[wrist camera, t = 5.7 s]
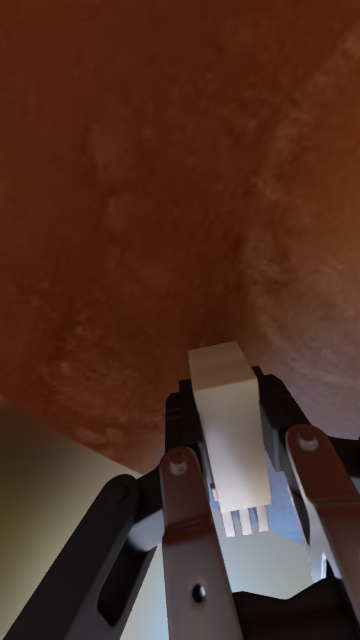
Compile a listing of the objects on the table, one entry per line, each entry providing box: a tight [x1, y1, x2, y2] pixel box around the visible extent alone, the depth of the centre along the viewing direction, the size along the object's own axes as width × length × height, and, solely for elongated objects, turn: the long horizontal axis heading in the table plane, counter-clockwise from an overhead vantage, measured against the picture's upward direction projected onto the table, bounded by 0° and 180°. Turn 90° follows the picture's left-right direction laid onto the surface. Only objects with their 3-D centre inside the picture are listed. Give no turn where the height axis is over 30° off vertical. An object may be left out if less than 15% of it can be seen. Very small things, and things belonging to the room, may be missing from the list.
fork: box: [188, 341, 272, 537], centre depth 13 cm, size 12×3×3 cm, turn 12°
